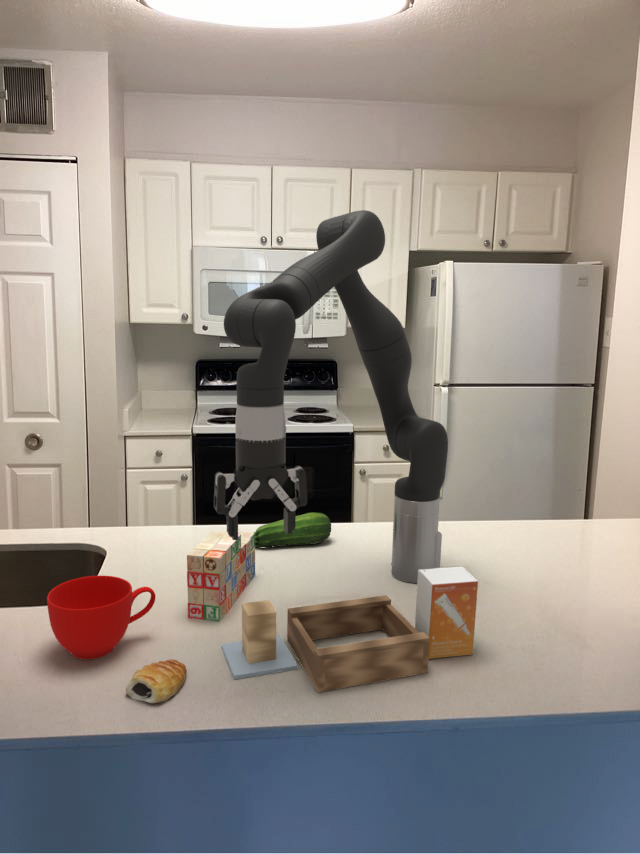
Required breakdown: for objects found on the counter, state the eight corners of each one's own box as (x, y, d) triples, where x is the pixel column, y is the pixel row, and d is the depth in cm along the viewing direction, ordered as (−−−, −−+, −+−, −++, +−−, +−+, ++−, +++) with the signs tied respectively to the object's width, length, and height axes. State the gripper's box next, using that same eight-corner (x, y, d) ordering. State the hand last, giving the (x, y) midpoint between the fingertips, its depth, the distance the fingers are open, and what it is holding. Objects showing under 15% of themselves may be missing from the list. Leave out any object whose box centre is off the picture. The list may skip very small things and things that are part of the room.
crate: (385, 625, 121) (386, 595, 120) (427, 672, 106) (429, 638, 105) (287, 640, 115) (287, 608, 114) (317, 692, 100) (318, 655, 99)
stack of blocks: (227, 572, 143) (226, 516, 141) (255, 575, 142) (255, 518, 140) (187, 618, 123) (186, 553, 120) (220, 622, 122) (220, 557, 119)
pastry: (162, 666, 107) (161, 644, 106) (198, 677, 104) (198, 654, 104) (122, 698, 99) (121, 674, 98) (160, 710, 96) (159, 686, 95)
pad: (280, 638, 116) (280, 635, 116) (297, 668, 107) (297, 665, 107) (221, 647, 113) (221, 644, 113) (233, 679, 103) (233, 675, 103)
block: (269, 645, 112) (269, 600, 111) (276, 659, 108) (276, 612, 107) (242, 649, 111) (242, 603, 109) (248, 663, 107) (247, 615, 105)
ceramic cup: (167, 651, 111) (166, 594, 109) (57, 678, 103) (53, 616, 101) (145, 618, 122) (144, 565, 120) (44, 640, 114) (41, 584, 112)
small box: (427, 660, 110) (431, 584, 107) (413, 641, 116) (416, 568, 113) (474, 655, 112) (479, 580, 109) (458, 636, 118) (462, 565, 115)
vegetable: (332, 509, 160) (247, 516, 154) (336, 540, 158) (250, 548, 152) (324, 514, 166) (242, 520, 161) (328, 543, 165) (245, 551, 159)
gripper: (298, 426, 109) (297, 523, 112) (209, 431, 105) (211, 532, 108) (313, 435, 102) (312, 538, 105) (218, 441, 98) (220, 549, 101)
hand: (261, 535), depth 107 cm, fingers open, 8 cm apart
